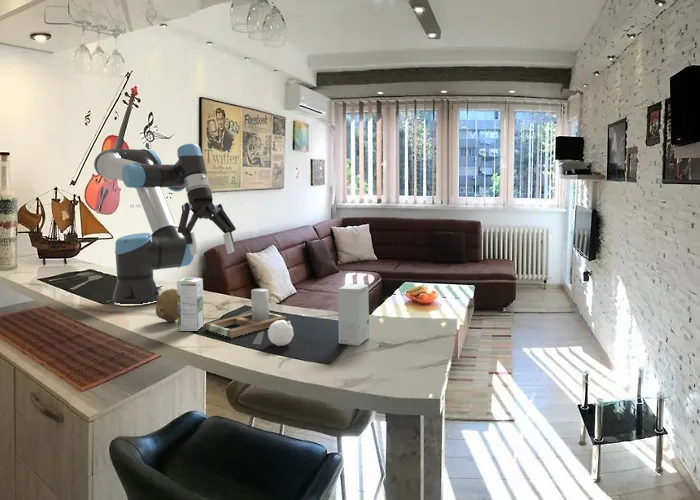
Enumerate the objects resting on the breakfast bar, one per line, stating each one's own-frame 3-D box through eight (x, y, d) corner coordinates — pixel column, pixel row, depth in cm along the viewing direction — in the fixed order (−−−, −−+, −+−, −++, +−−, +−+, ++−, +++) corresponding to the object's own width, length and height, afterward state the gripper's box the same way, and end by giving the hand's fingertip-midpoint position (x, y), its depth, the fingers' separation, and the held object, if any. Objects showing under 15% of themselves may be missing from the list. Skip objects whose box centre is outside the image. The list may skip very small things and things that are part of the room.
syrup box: (184, 326, 159) (182, 277, 157) (204, 326, 159) (202, 277, 157) (177, 332, 154) (175, 281, 152) (198, 332, 154) (196, 281, 152)
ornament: (277, 339, 147) (294, 317, 146) (286, 354, 142) (303, 332, 141) (259, 331, 143) (276, 309, 142) (267, 347, 138) (285, 324, 137)
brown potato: (195, 319, 167) (193, 287, 166) (177, 327, 159) (176, 293, 157) (169, 317, 170) (168, 285, 169) (151, 324, 162) (149, 291, 160)
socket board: (205, 330, 155) (205, 323, 155) (260, 316, 170) (260, 310, 170) (231, 338, 148) (231, 331, 147) (286, 323, 163) (286, 316, 162)
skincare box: (358, 346, 141) (359, 289, 139) (337, 344, 143) (336, 287, 141) (369, 337, 149) (370, 283, 147) (348, 335, 151) (349, 282, 149)
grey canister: (248, 323, 162) (247, 290, 161) (261, 320, 166) (260, 287, 165) (259, 326, 159) (258, 292, 158) (272, 323, 163) (272, 290, 162)
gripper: (169, 183, 164) (185, 250, 160) (236, 188, 184) (251, 248, 180) (157, 193, 169) (171, 258, 165) (223, 196, 188) (238, 255, 184)
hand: (213, 253), depth 172 cm, fingers open, 13 cm apart
